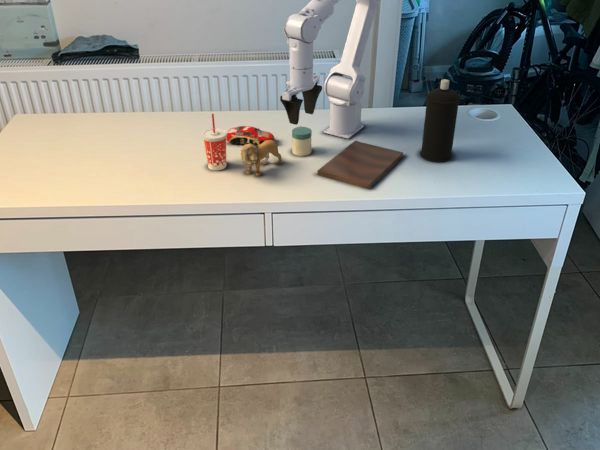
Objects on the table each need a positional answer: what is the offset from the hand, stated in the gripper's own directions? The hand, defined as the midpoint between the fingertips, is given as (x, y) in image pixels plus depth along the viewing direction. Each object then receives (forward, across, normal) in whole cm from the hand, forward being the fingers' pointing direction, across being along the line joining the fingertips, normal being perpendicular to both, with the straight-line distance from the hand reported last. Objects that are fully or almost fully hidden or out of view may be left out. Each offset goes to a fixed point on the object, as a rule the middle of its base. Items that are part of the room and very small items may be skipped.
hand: (301, 118), depth 157 cm
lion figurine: (+10, +14, -3) cm, 17 cm away
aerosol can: (+10, -16, +31) cm, 36 cm away
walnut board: (+9, -1, +17) cm, 19 cm away
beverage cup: (+10, +18, -14) cm, 25 cm away
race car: (+10, +2, -15) cm, 18 cm away
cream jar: (+9, 0, 0) cm, 9 cm away
